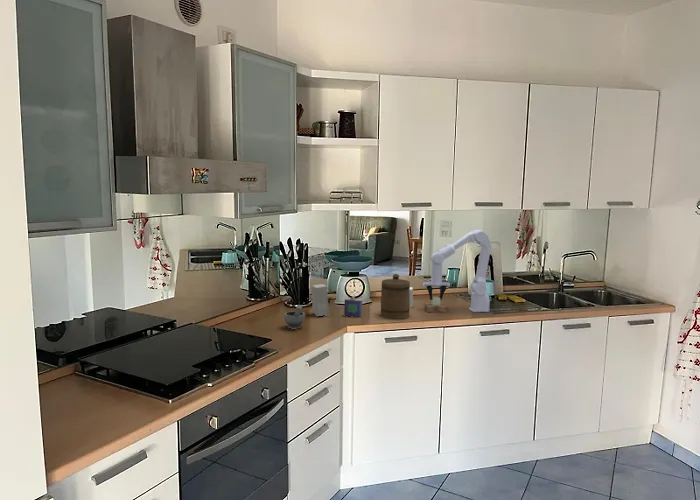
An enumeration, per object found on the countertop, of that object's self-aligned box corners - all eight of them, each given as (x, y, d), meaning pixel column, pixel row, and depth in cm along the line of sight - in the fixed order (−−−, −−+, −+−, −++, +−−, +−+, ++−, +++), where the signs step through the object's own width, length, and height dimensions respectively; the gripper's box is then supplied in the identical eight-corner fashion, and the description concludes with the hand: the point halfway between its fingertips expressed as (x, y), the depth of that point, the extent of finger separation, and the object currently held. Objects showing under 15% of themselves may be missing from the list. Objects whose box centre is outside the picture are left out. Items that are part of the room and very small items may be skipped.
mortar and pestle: (281, 326, 258) (281, 302, 256) (299, 324, 263) (299, 300, 261) (291, 332, 248) (291, 307, 247) (309, 329, 253) (309, 304, 252)
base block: (442, 307, 299) (442, 302, 298) (446, 312, 289) (447, 306, 289) (424, 307, 298) (424, 302, 298) (428, 312, 288) (428, 306, 288)
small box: (412, 305, 304) (413, 287, 302) (412, 307, 298) (413, 289, 297) (398, 305, 305) (398, 286, 303) (398, 307, 299) (398, 288, 298)
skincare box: (328, 316, 277) (329, 286, 275) (315, 317, 275) (315, 287, 273) (324, 312, 285) (324, 283, 283) (311, 313, 283) (311, 284, 281)
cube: (438, 303, 295) (438, 296, 295) (440, 305, 291) (440, 298, 291) (431, 303, 295) (431, 296, 294) (432, 305, 291) (433, 298, 290)
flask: (362, 316, 279) (362, 296, 277) (361, 317, 276) (361, 297, 275) (344, 315, 281) (345, 295, 279) (343, 316, 278) (343, 296, 276)
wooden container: (398, 311, 291) (399, 270, 288) (414, 317, 278) (416, 275, 275) (375, 314, 284) (376, 272, 281) (390, 320, 271) (391, 277, 268)
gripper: (424, 276, 286) (424, 301, 288) (451, 276, 287) (450, 301, 289) (422, 273, 293) (421, 298, 295) (448, 273, 294) (447, 298, 296)
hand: (435, 299), depth 293 cm, fingers open, 5 cm apart
